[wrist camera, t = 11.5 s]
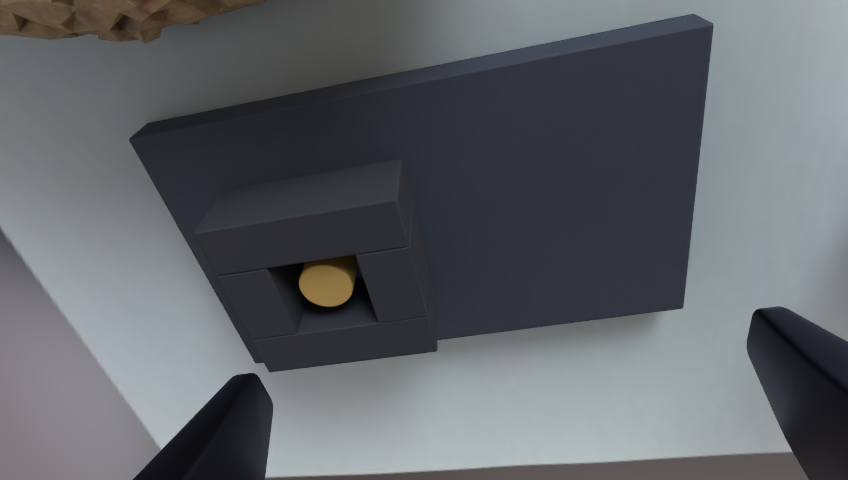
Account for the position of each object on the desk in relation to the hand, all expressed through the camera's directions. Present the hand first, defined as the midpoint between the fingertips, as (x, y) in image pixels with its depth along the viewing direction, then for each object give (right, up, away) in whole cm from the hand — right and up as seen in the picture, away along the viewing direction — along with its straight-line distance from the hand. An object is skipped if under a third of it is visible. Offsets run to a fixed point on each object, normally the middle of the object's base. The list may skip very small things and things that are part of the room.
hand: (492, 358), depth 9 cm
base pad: (-1, +3, +12) cm, 13 cm away
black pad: (-5, +2, +12) cm, 13 cm away
